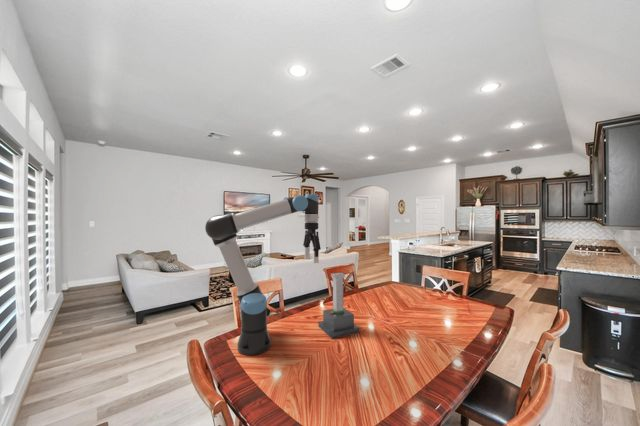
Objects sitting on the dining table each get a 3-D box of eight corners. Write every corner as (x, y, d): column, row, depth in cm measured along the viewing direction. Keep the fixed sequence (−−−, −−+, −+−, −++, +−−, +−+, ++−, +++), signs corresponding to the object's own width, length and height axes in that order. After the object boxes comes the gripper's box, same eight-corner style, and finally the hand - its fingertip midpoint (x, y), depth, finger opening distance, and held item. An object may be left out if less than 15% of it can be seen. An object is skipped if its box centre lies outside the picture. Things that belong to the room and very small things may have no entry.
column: (335, 320, 138) (334, 275, 138) (331, 317, 142) (330, 273, 142) (345, 318, 141) (344, 274, 141) (341, 315, 144) (340, 272, 145)
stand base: (331, 338, 131) (331, 318, 131) (318, 326, 145) (318, 308, 145) (359, 332, 137) (359, 313, 137) (344, 321, 152) (343, 304, 152)
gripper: (327, 222, 136) (326, 264, 136) (310, 221, 159) (309, 257, 159) (313, 222, 133) (313, 265, 133) (298, 221, 156) (297, 257, 156)
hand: (311, 260), depth 146 cm, fingers open, 13 cm apart
